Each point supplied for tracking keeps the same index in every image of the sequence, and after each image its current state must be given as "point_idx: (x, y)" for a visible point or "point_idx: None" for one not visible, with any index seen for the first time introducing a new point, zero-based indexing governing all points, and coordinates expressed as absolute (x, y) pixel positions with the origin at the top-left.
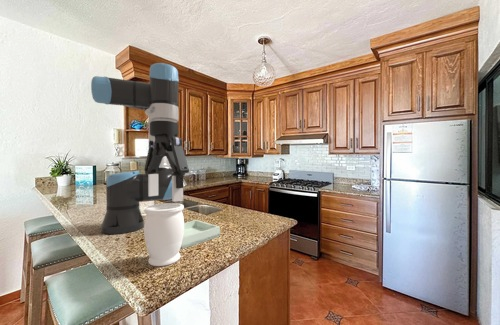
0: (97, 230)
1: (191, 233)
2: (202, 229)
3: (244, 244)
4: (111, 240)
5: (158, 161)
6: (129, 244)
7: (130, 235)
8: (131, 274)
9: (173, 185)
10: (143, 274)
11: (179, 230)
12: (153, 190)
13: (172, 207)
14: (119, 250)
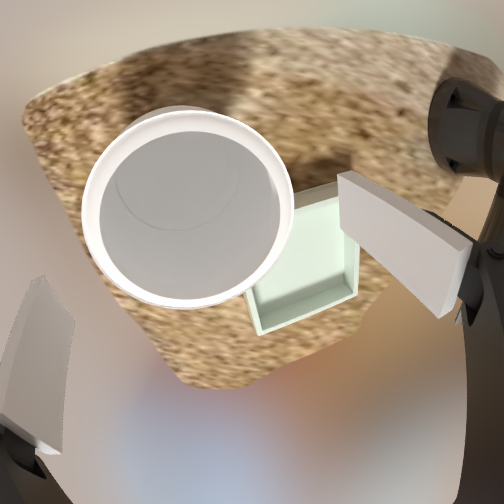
0: (470, 78)
1: (303, 261)
2: (312, 292)
3: (165, 346)
4: (403, 73)
5: (479, 428)
6: (351, 97)
7: (409, 120)
8: (132, 70)
9: (4, 352)
10: (113, 97)
11: (121, 231)
12: (360, 214)
13: (254, 258)
14: (323, 64)
